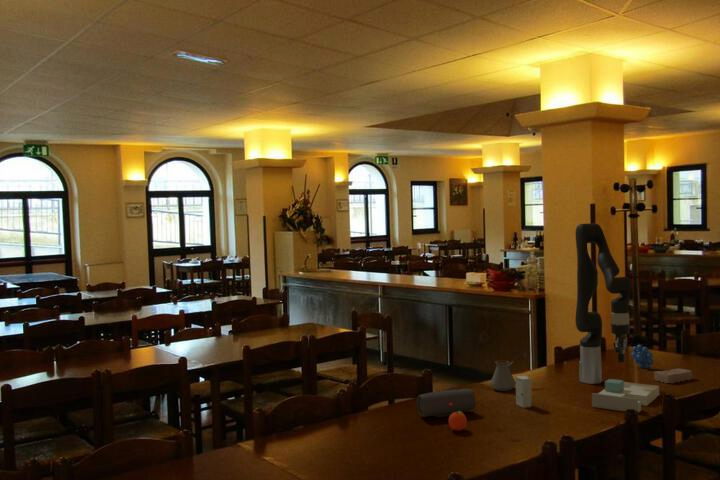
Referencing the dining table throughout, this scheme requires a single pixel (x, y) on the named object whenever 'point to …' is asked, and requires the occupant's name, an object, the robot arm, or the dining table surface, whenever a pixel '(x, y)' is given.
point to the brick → (673, 375)
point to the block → (614, 385)
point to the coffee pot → (503, 375)
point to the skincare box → (523, 391)
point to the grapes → (642, 356)
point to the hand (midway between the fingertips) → (621, 361)
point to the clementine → (457, 421)
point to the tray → (626, 397)
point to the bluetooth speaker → (445, 402)
